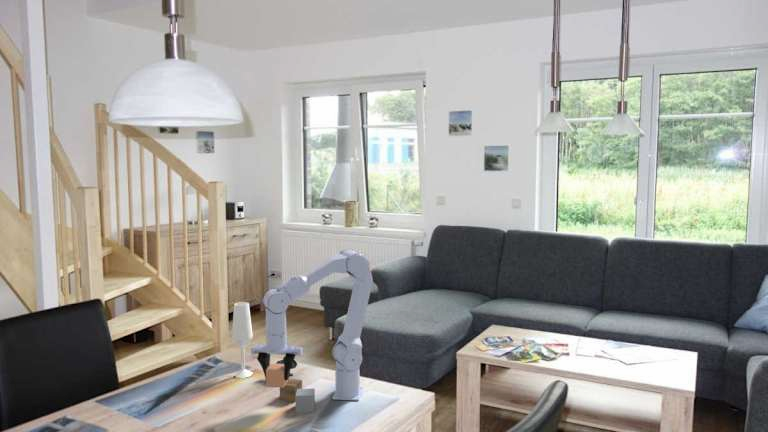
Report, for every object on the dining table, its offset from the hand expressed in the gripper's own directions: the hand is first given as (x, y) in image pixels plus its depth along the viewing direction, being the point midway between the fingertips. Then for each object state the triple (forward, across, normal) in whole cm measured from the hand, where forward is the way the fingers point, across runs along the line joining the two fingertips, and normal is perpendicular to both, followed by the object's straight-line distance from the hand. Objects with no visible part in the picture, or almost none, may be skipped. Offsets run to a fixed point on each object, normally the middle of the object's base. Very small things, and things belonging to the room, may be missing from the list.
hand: (277, 378), depth 170 cm
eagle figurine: (+9, -6, +23) cm, 25 cm away
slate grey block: (+9, +8, +1) cm, 12 cm away
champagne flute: (+9, -19, +24) cm, 32 cm away
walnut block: (+9, +2, +8) cm, 12 cm away
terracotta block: (+2, 0, 0) cm, 2 cm away
